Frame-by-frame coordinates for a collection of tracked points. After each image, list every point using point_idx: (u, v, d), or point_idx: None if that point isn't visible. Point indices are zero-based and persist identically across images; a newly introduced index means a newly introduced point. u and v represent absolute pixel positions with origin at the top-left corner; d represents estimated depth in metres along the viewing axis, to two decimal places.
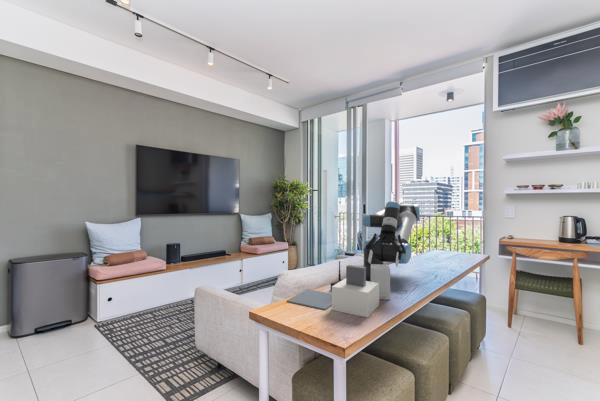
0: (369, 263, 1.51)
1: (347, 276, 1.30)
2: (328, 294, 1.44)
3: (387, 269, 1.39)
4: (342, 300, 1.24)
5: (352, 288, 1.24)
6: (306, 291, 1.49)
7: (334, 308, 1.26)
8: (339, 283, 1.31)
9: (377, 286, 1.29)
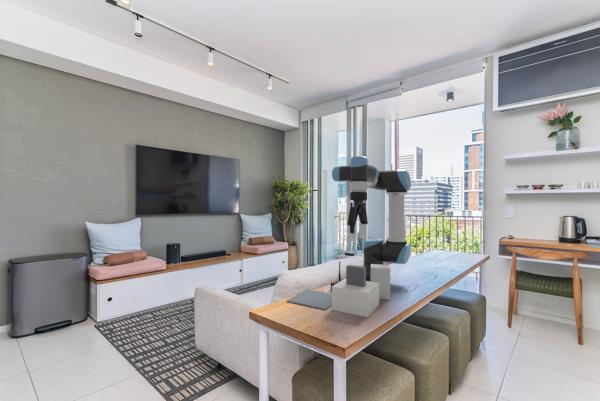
0: None
1: (347, 276, 1.30)
2: (328, 294, 1.44)
3: (387, 269, 1.39)
4: (342, 300, 1.24)
5: (352, 288, 1.24)
6: (306, 291, 1.49)
7: (334, 308, 1.26)
8: (339, 283, 1.31)
9: (377, 286, 1.29)
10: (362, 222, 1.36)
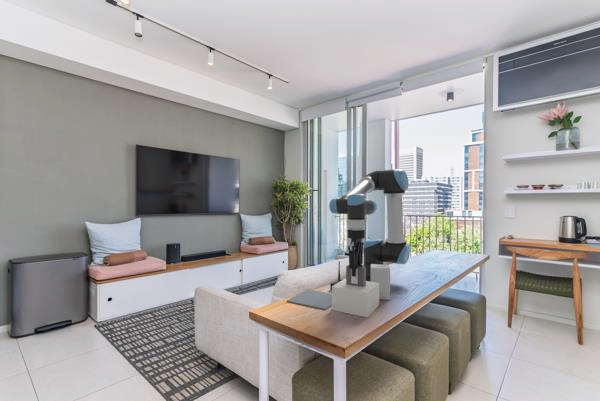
0: None
1: (347, 276, 1.30)
2: (328, 294, 1.44)
3: (387, 269, 1.39)
4: (342, 300, 1.24)
5: (352, 288, 1.24)
6: (306, 291, 1.49)
7: (334, 308, 1.26)
8: (339, 283, 1.31)
9: (377, 286, 1.29)
10: (357, 264, 1.31)
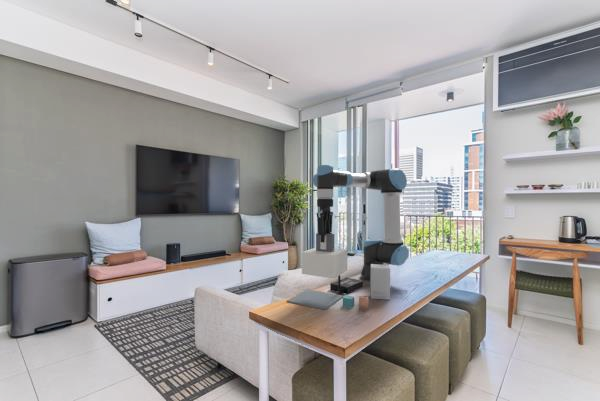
0: None
1: (317, 243, 1.37)
2: (328, 294, 1.44)
3: (387, 269, 1.39)
4: (311, 264, 1.31)
5: (320, 252, 1.31)
6: (306, 291, 1.49)
7: (304, 272, 1.33)
8: (309, 250, 1.38)
9: (345, 252, 1.37)
10: (326, 232, 1.39)
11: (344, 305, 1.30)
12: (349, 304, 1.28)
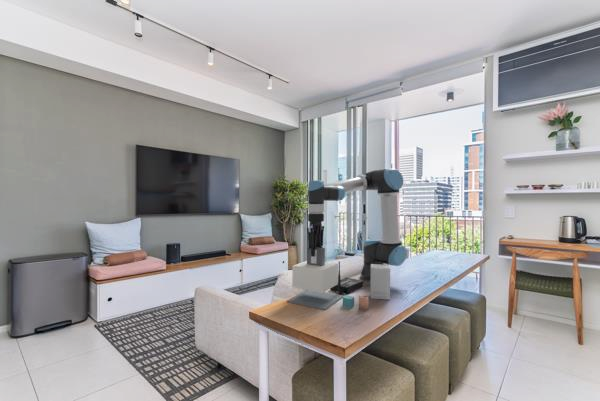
0: None
1: (307, 257, 1.40)
2: (328, 294, 1.44)
3: (387, 269, 1.39)
4: (301, 278, 1.34)
5: (310, 267, 1.34)
6: (306, 291, 1.49)
7: (294, 286, 1.36)
8: (300, 263, 1.41)
9: (335, 266, 1.40)
10: (317, 246, 1.41)
11: (344, 305, 1.30)
12: (349, 304, 1.28)
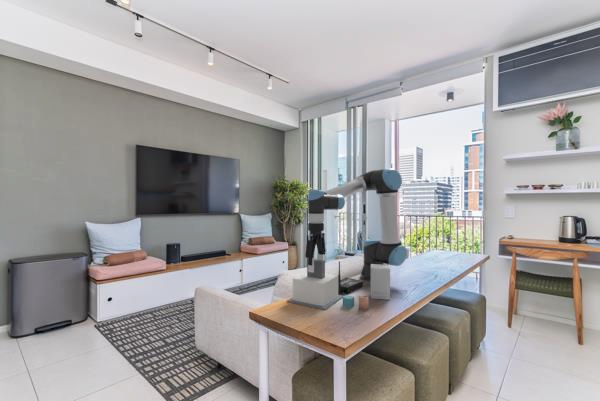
0: None
1: None
2: None
3: (387, 269, 1.39)
4: (301, 291, 1.34)
5: (310, 280, 1.34)
6: None
7: (295, 298, 1.36)
8: (301, 276, 1.41)
9: (335, 278, 1.40)
10: (320, 252, 1.44)
11: (344, 305, 1.30)
12: (349, 304, 1.28)
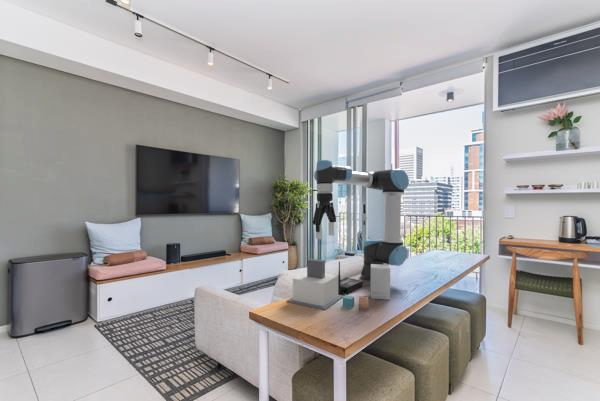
0: None
1: (308, 269, 1.40)
2: None
3: (387, 269, 1.39)
4: (301, 291, 1.34)
5: (310, 280, 1.34)
6: None
7: (295, 298, 1.36)
8: (301, 276, 1.41)
9: (335, 278, 1.40)
10: (331, 220, 1.47)
11: (344, 305, 1.30)
12: (349, 304, 1.28)
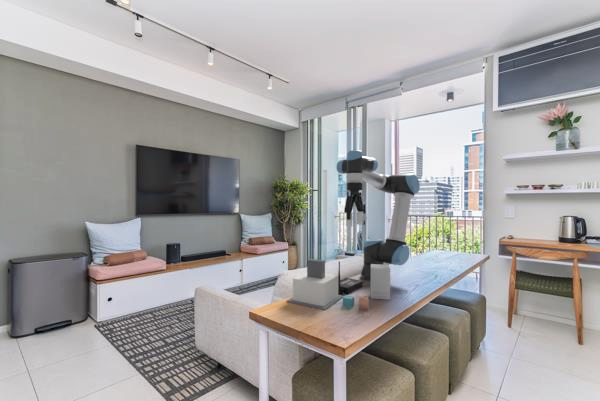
0: (361, 224, 1.49)
1: (308, 269, 1.40)
2: None
3: (387, 269, 1.39)
4: (301, 291, 1.34)
5: (310, 280, 1.34)
6: None
7: (295, 298, 1.36)
8: (301, 276, 1.41)
9: (335, 278, 1.40)
10: (359, 210, 1.50)
11: (344, 305, 1.30)
12: (349, 304, 1.28)
